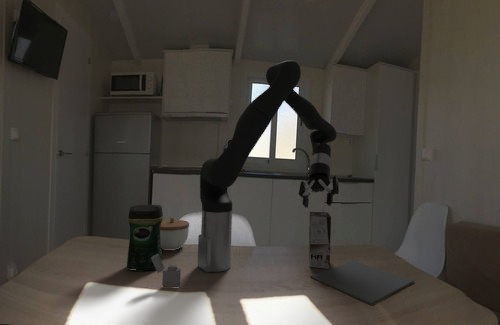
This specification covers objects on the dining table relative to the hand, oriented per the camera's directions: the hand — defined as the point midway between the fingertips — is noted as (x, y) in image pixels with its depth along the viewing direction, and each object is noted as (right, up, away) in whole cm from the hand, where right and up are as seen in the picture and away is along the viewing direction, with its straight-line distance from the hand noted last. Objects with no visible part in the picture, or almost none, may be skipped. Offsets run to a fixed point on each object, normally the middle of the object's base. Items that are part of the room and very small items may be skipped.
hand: (316, 205), depth 91 cm
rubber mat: (+8, -18, -18) cm, 26 cm away
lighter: (-45, -16, -25) cm, 54 cm away
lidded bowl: (-53, -17, +6) cm, 56 cm away
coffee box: (-1, -18, -6) cm, 19 cm away
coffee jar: (-55, -16, -13) cm, 59 cm away
